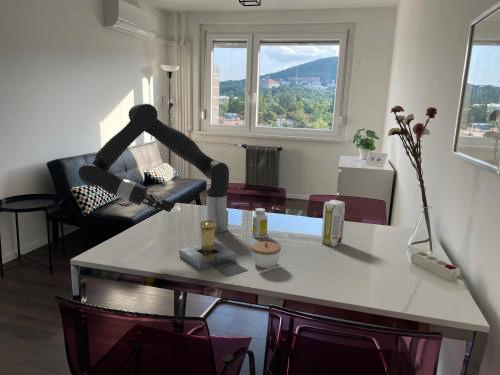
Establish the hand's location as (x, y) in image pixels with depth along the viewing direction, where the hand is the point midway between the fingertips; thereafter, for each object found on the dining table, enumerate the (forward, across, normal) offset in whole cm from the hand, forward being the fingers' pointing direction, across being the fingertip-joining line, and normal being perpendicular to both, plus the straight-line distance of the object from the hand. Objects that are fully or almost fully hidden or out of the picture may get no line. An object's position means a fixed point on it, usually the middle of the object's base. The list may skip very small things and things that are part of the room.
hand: (172, 208), depth 144 cm
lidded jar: (+41, -6, +6) cm, 42 cm away
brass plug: (+20, 0, +13) cm, 24 cm away
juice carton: (+70, +17, -8) cm, 72 cm away
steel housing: (+20, 0, +14) cm, 24 cm away
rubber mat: (+29, -10, +12) cm, 32 cm away
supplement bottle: (+40, +26, +2) cm, 48 cm away
